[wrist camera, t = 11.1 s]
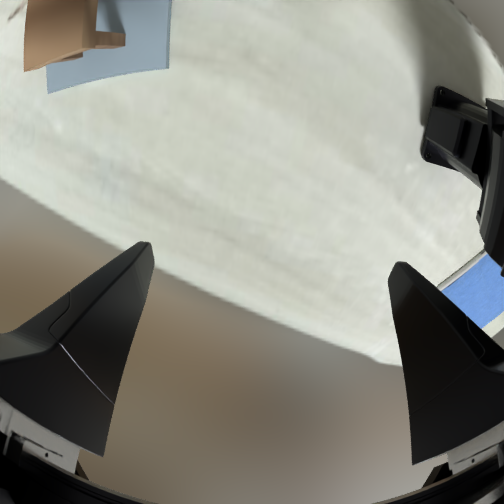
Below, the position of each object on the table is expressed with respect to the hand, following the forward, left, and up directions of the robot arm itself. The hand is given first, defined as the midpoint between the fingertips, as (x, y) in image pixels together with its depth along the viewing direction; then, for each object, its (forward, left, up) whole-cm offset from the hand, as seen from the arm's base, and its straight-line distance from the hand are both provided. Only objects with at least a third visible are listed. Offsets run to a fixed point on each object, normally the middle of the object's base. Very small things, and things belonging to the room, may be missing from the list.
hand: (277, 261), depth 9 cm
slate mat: (+13, -12, -12) cm, 21 cm away
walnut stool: (+13, -11, -11) cm, 21 cm away
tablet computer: (-32, +14, -13) cm, 37 cm away
